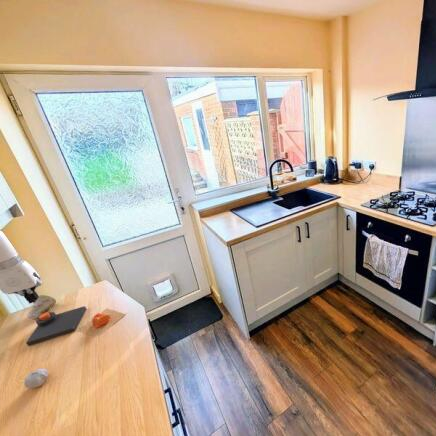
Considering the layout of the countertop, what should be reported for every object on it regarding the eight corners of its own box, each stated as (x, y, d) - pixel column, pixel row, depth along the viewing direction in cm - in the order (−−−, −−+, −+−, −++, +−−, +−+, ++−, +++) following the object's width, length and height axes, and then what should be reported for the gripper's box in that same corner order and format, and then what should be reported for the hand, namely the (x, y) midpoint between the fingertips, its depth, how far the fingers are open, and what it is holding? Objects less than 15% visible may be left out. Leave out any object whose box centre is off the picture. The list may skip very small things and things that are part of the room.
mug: (23, 323, 104) (19, 300, 105) (51, 315, 114) (47, 293, 115) (35, 320, 103) (31, 297, 103) (62, 312, 112) (58, 290, 113)
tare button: (39, 322, 99) (37, 318, 99) (43, 316, 102) (41, 313, 101) (48, 319, 100) (46, 316, 100) (52, 314, 103) (49, 311, 102)
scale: (26, 346, 93) (21, 340, 91) (44, 321, 104) (40, 315, 103) (75, 331, 97) (70, 325, 96) (87, 308, 109) (83, 302, 107)
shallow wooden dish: (107, 308, 107) (103, 301, 105) (125, 314, 103) (121, 306, 101) (77, 330, 97) (72, 322, 96) (96, 338, 93) (91, 330, 91)
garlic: (55, 377, 80) (47, 366, 78) (35, 394, 75) (26, 383, 73) (45, 372, 82) (36, 361, 80) (24, 388, 77) (15, 378, 75)
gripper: (-28, 274, 84) (5, 313, 92) (25, 261, 88) (52, 300, 96) (-13, 263, 91) (16, 300, 98) (36, 251, 95) (61, 288, 103)
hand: (34, 300), depth 97 cm, fingers closed
